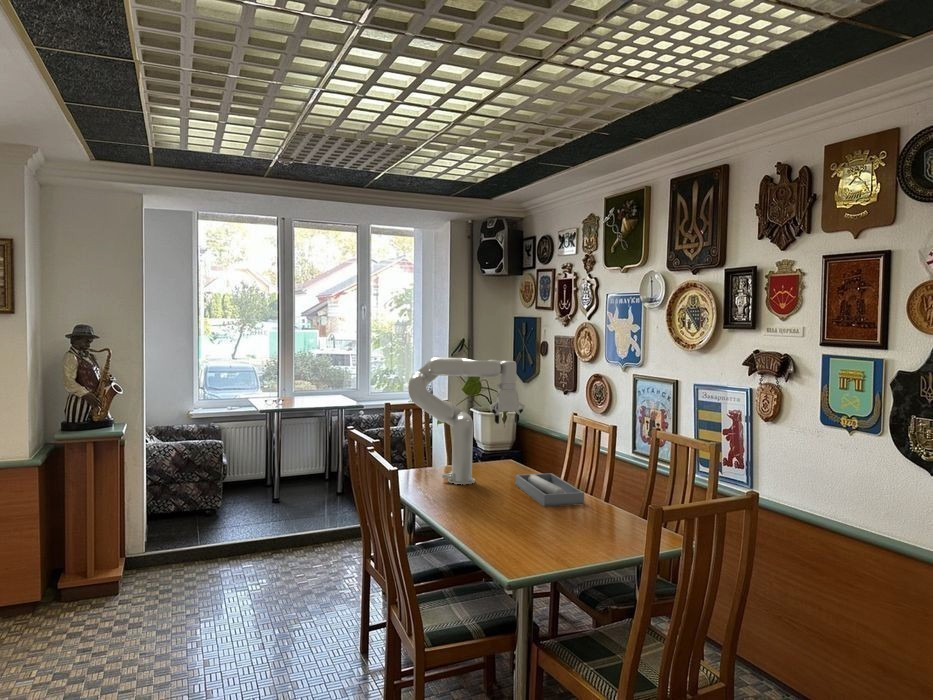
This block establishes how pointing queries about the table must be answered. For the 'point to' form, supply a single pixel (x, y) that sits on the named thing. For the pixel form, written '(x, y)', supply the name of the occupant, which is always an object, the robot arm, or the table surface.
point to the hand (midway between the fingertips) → (506, 423)
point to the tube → (544, 485)
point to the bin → (566, 498)
